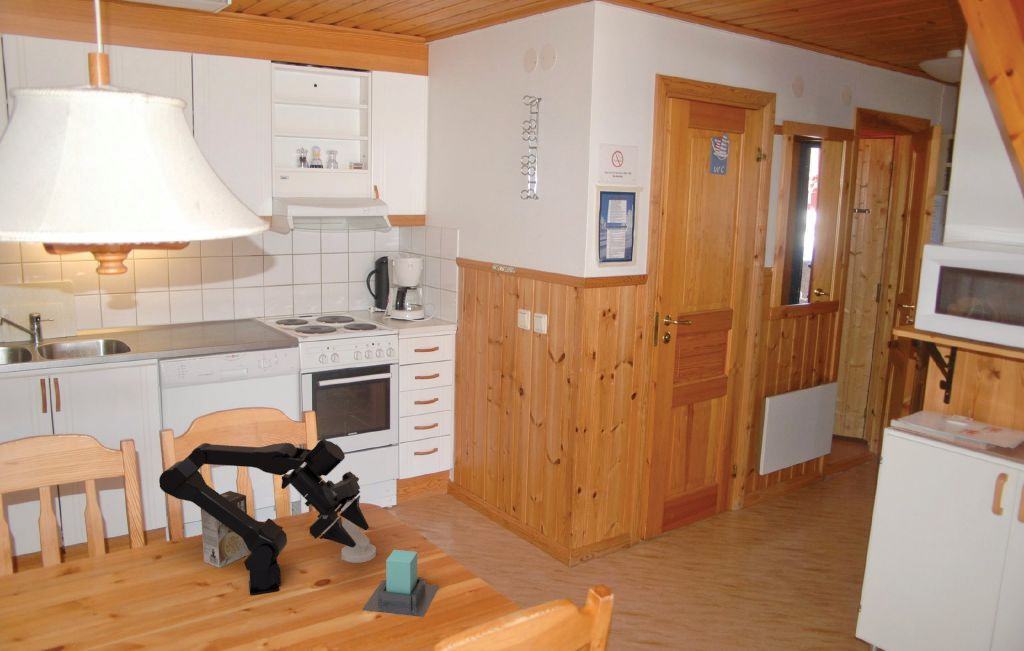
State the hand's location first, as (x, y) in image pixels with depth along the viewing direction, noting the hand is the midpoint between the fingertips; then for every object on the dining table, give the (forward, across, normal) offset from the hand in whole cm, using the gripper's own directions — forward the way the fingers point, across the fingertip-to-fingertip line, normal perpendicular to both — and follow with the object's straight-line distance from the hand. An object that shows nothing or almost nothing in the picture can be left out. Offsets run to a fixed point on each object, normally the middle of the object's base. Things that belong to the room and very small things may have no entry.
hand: (361, 537), depth 180 cm
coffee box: (-18, +11, +37) cm, 43 cm away
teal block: (+16, -2, +2) cm, 16 cm away
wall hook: (+5, +17, +15) cm, 23 cm away
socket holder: (+17, -2, +3) cm, 17 cm away
